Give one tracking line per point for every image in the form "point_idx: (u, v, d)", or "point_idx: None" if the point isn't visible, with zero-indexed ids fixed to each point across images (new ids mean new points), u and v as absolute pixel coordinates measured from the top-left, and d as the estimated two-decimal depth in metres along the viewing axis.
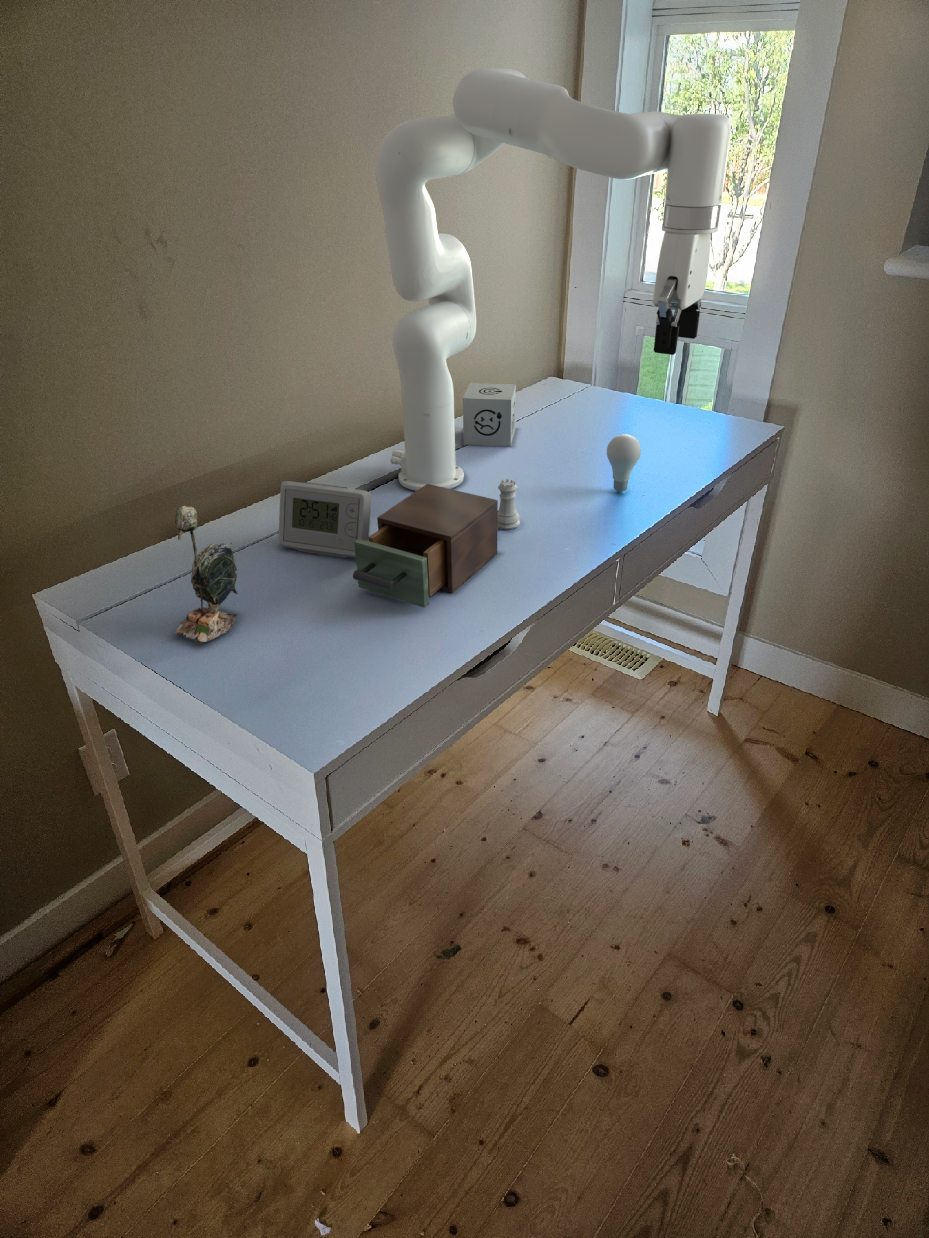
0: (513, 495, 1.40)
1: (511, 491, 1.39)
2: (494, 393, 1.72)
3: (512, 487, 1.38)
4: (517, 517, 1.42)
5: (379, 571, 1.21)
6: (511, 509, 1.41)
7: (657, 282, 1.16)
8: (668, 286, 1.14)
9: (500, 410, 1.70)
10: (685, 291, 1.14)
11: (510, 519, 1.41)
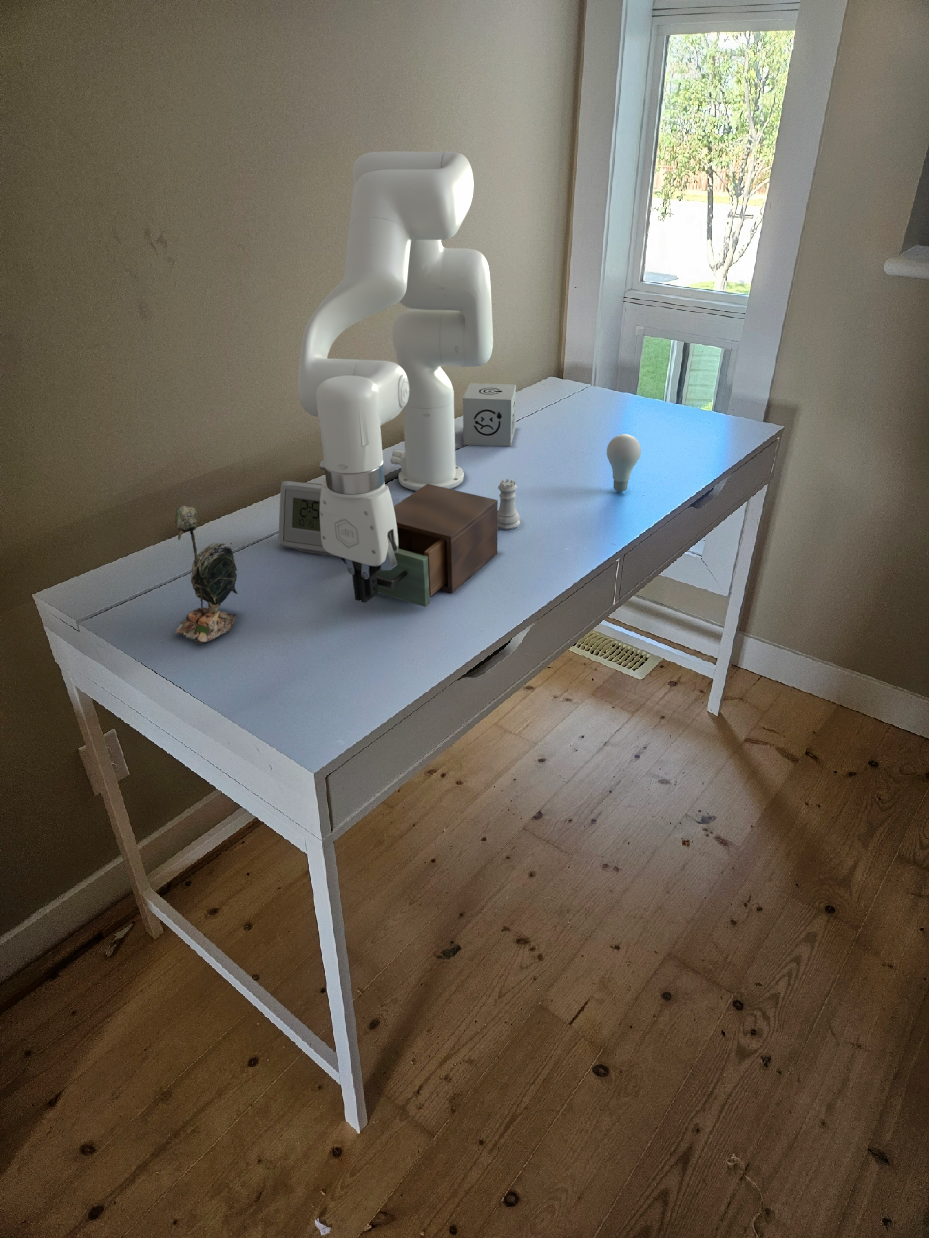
0: (513, 495, 1.40)
1: (511, 491, 1.39)
2: (494, 393, 1.72)
3: (512, 487, 1.38)
4: (517, 517, 1.42)
5: (380, 570, 1.21)
6: (511, 509, 1.41)
7: (381, 543, 1.07)
8: (390, 550, 1.10)
9: (500, 410, 1.70)
10: None
11: (510, 519, 1.41)
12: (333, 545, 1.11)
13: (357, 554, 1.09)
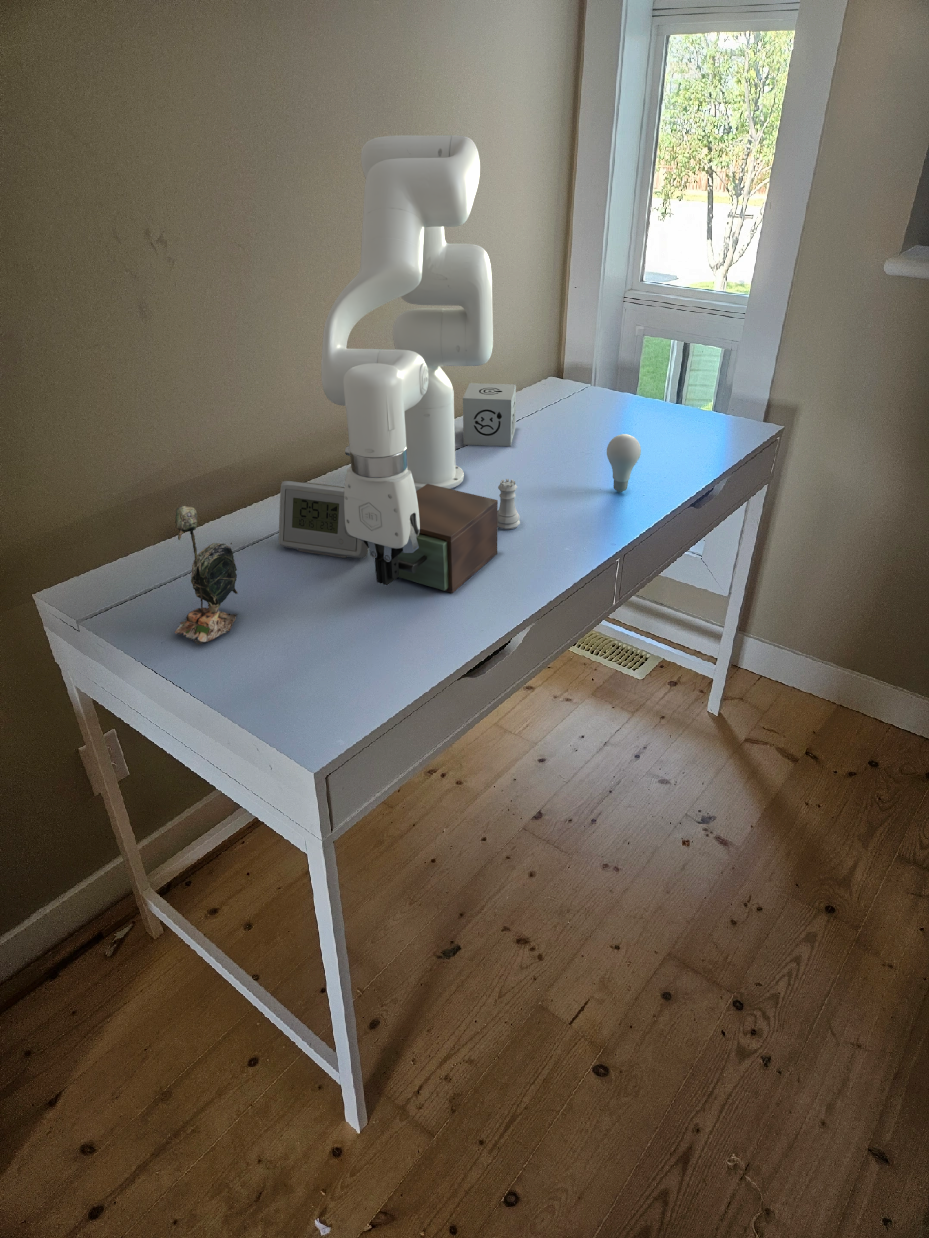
0: (513, 495, 1.40)
1: (511, 491, 1.39)
2: (494, 393, 1.72)
3: (512, 487, 1.38)
4: (517, 517, 1.42)
5: (400, 555, 1.25)
6: (511, 509, 1.41)
7: (403, 526, 1.11)
8: (412, 533, 1.13)
9: (500, 410, 1.70)
10: None
11: (510, 519, 1.41)
12: (357, 528, 1.15)
13: (380, 537, 1.13)
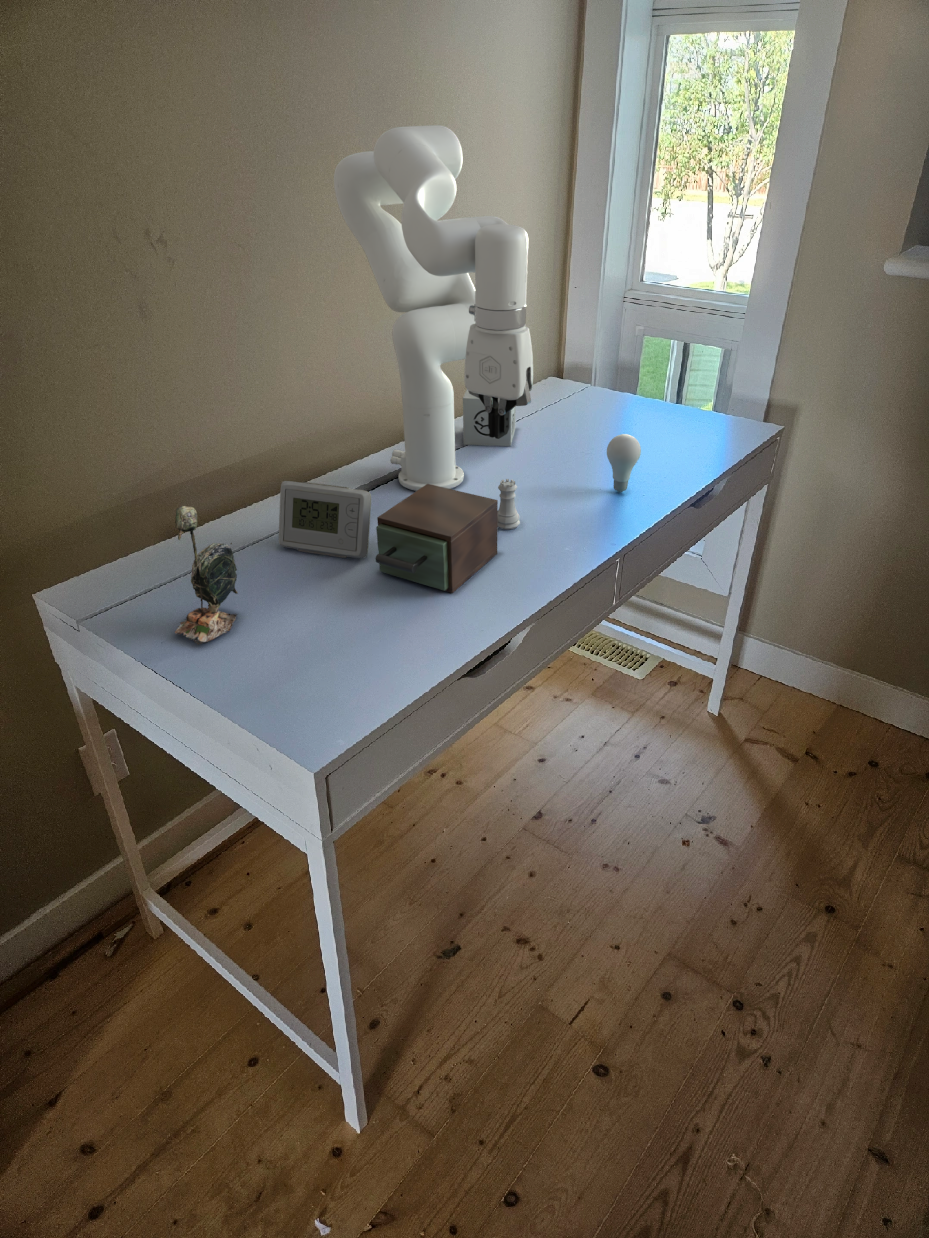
0: (513, 495, 1.40)
1: (511, 491, 1.39)
2: None
3: (512, 487, 1.38)
4: (517, 517, 1.42)
5: (400, 555, 1.25)
6: (511, 509, 1.41)
7: (521, 377, 1.23)
8: (526, 386, 1.26)
9: None
10: None
11: (510, 519, 1.41)
12: (476, 383, 1.27)
13: (497, 389, 1.25)
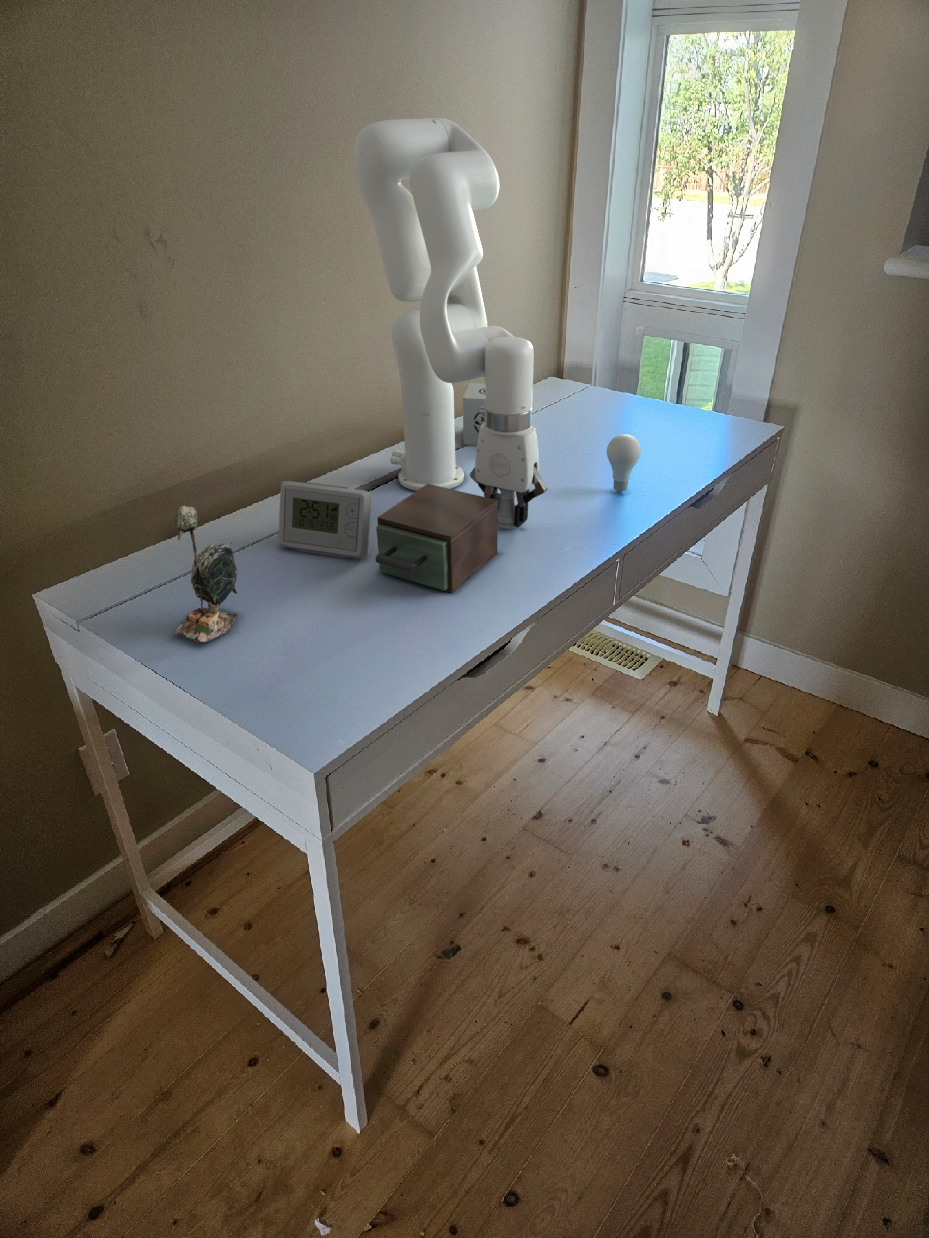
0: (513, 495, 1.40)
1: (511, 491, 1.39)
2: None
3: None
4: None
5: (400, 555, 1.25)
6: (511, 509, 1.41)
7: (529, 473, 1.34)
8: (538, 477, 1.35)
9: None
10: None
11: (510, 519, 1.41)
12: (486, 476, 1.37)
13: (507, 482, 1.36)
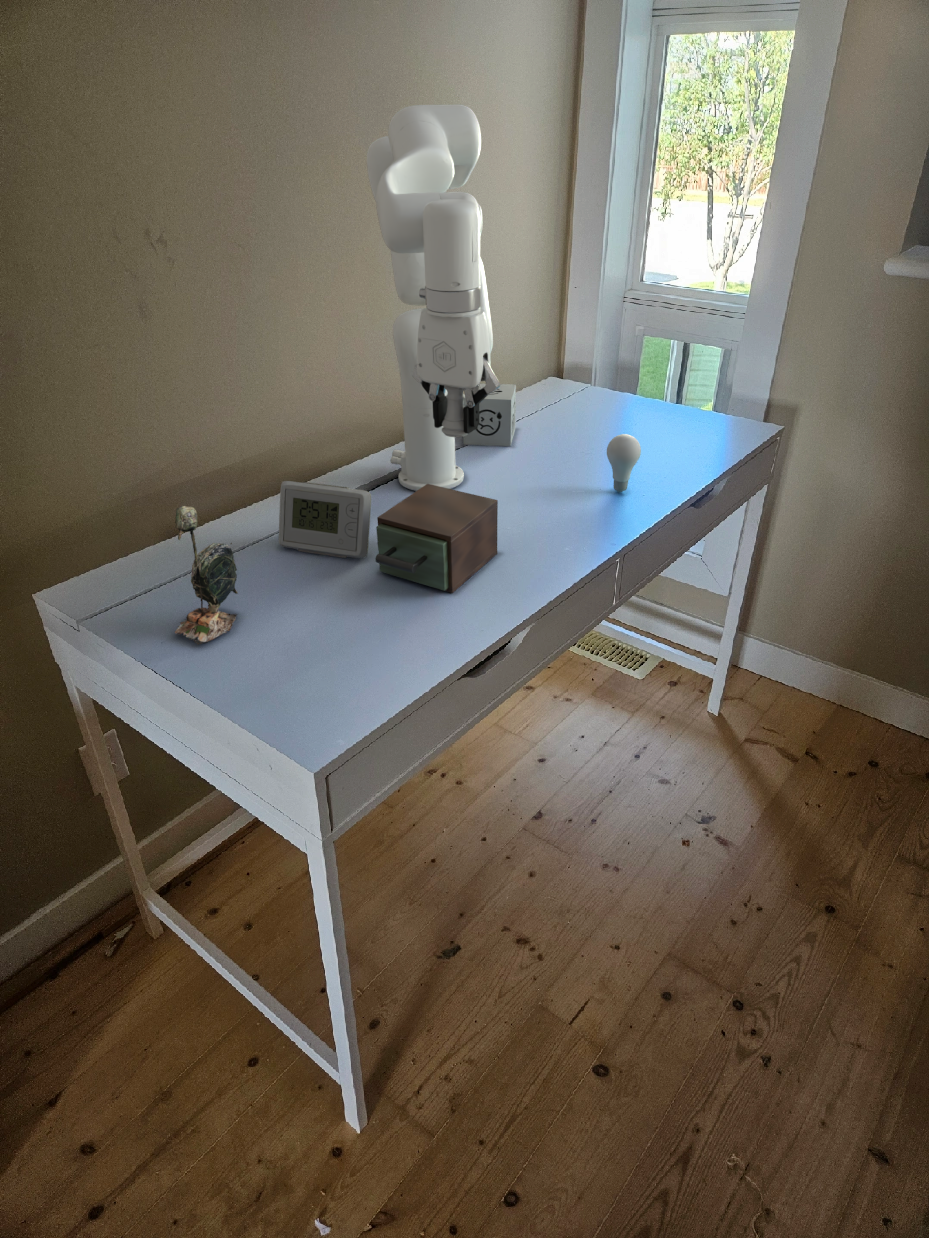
0: (462, 395, 1.21)
1: (459, 390, 1.20)
2: (494, 393, 1.72)
3: None
4: None
5: (400, 555, 1.25)
6: (459, 412, 1.22)
7: (477, 364, 1.15)
8: (489, 370, 1.16)
9: (500, 410, 1.70)
10: None
11: (459, 424, 1.22)
12: (429, 371, 1.18)
13: (453, 377, 1.17)
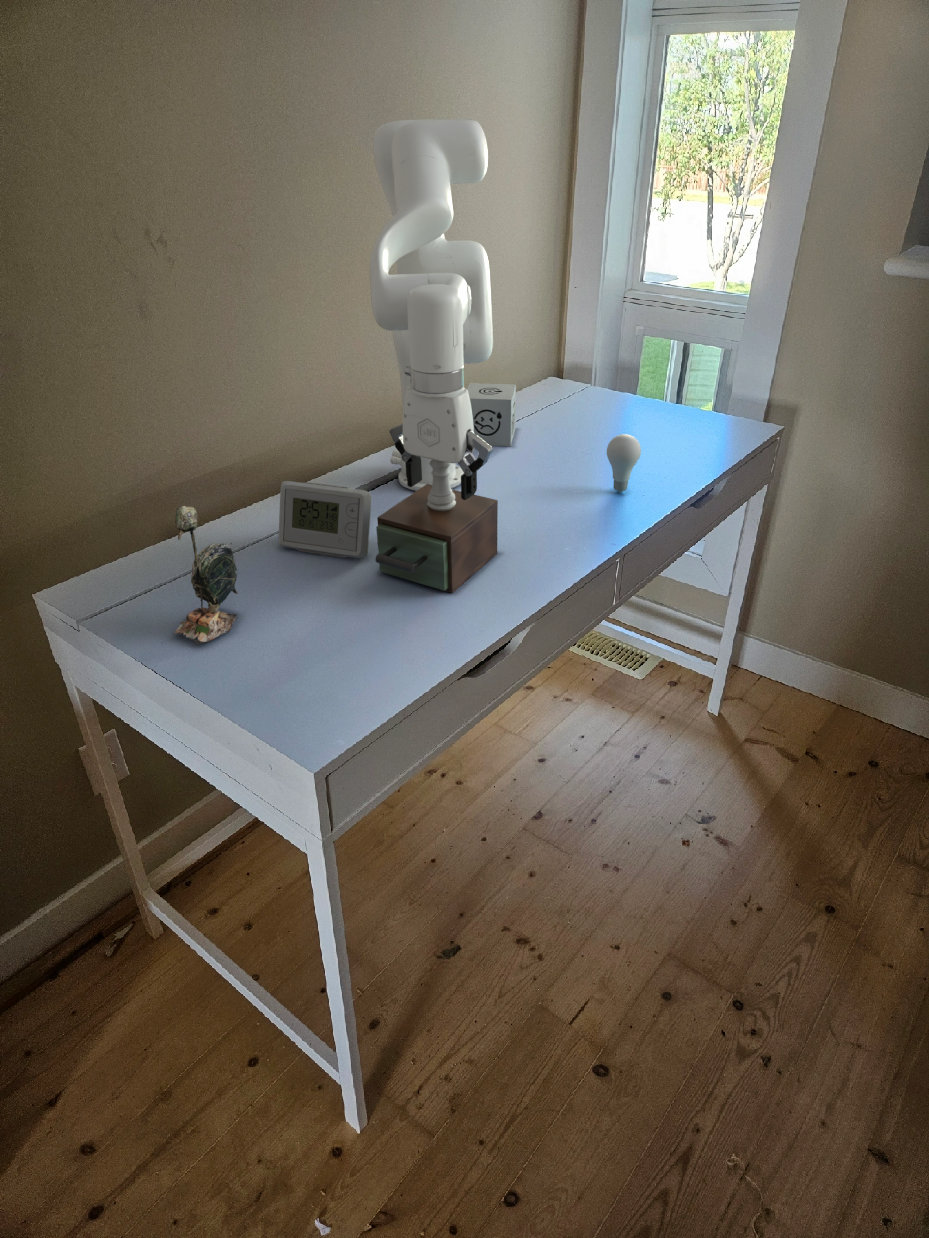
0: (446, 472, 1.24)
1: (443, 467, 1.23)
2: (494, 393, 1.72)
3: (445, 463, 1.23)
4: (452, 497, 1.26)
5: (400, 555, 1.25)
6: (444, 487, 1.25)
7: (460, 441, 1.18)
8: (477, 438, 1.19)
9: (500, 410, 1.70)
10: None
11: (444, 499, 1.25)
12: (415, 445, 1.22)
13: (437, 452, 1.20)
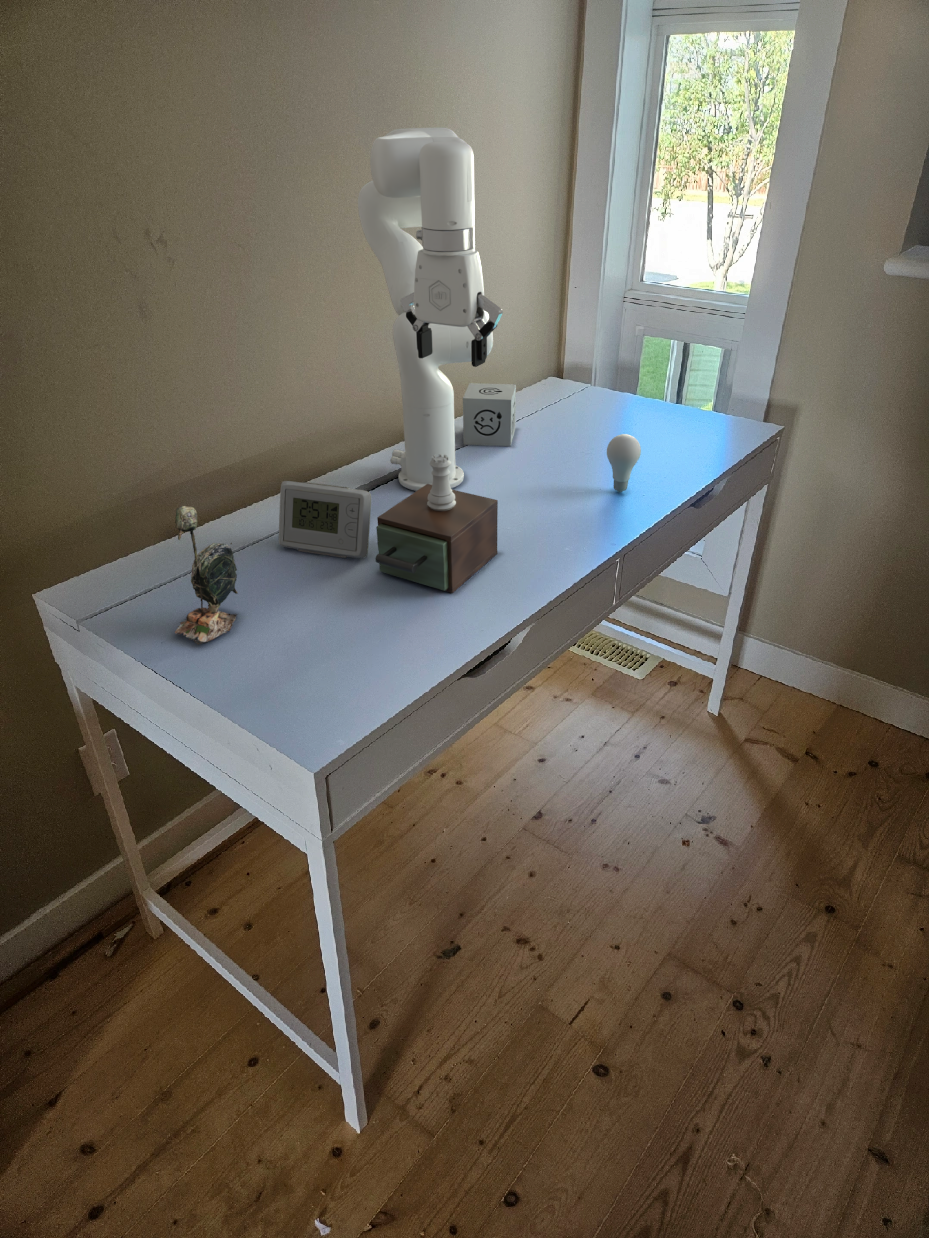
0: (446, 472, 1.24)
1: (443, 467, 1.23)
2: (494, 393, 1.72)
3: (445, 463, 1.23)
4: (452, 497, 1.26)
5: (400, 555, 1.25)
6: (444, 487, 1.25)
7: (471, 302, 1.20)
8: (487, 300, 1.21)
9: (500, 410, 1.70)
10: None
11: (444, 499, 1.25)
12: (426, 311, 1.23)
13: (448, 316, 1.22)
